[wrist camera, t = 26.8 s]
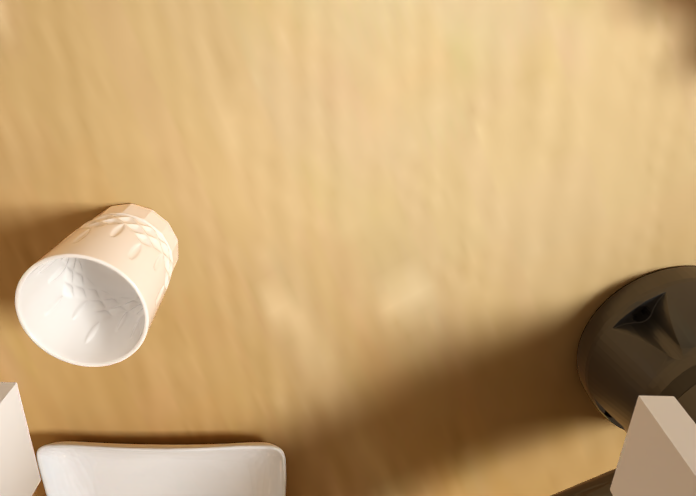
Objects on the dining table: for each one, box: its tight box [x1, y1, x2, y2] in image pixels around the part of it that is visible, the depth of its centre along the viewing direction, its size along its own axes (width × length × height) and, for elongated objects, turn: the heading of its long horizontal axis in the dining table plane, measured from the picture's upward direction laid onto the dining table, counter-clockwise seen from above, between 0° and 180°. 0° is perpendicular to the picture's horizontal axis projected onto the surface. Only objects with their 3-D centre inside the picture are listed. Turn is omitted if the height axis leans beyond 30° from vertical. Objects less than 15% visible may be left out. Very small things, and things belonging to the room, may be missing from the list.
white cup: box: [15, 204, 178, 367], centre depth 40 cm, size 8×8×10 cm
